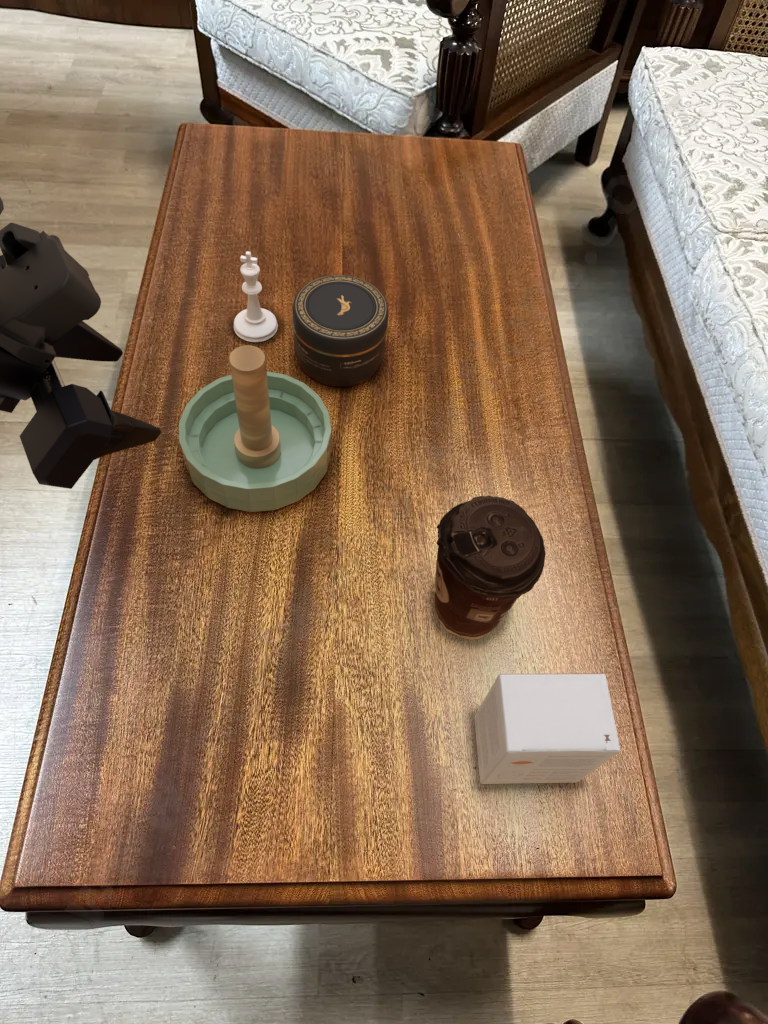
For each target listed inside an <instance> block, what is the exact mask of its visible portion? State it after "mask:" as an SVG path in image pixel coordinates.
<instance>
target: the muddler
mask: <svg viewBox="0 0 768 1024" xmlns="http://www.w3.org/2000/svg"><path fill="white" fill-rule="evenodd" d="M228 361H229V368H230V375H232V382H233V388H234V395H235V402H236V408H237V415H238V421H239V429H238V430H237V432H236V434H235V436H234V444H235V450H236V455H237V458H238V460H239V461H240V462H241V463H242V464H243V465H245V466H247V467H250V468H254V469H261V468H266V467H268V466H270V465H272V464H274V463H275V462H276V461H277V460H278V458H279V456H280V453H281V446H280V436H279V433H278V431H277V429H276V428H275V427H274V426H272V425H271V415H270V404H269V393H268V383H267V372H266V371H267V364H266V363H267V361H266V355H265V353H264V351H263V350H262V349H261V348H259V347H257V346H255V345H251V344H244V345H240V346H237V347H235V348H234V349H233V350H232V351H231V352H230V354H229V356H228Z"/></svg>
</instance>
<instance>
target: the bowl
mask: <svg viewBox="0 0 768 1024" xmlns="http://www.w3.org/2000/svg"><path fill="white" fill-rule="evenodd" d="M266 372H267V383H268V393H269V404H270V415H271V425H272V426H274V427H275V428H276V429H277V431H278V433H279V436H280V446H281V453H280V456H279V458H278V460H277V461H276V462H275V463H274V464H272V465H270V466H268V467H266V468H261V469H254V468H250V467H247V466H245V465H243V464H242V463H241V462H240V461H239V460H238V458H237V455H236V450H235V444H234V436H235V434H236V432H237V430H238V429H239V421H238V415H237V408H236V402H235V395H234V388H233V382H232V375H231V374H228V375H225V376H222V377H219V378H217V379H214V380H213V381H212V382H210V383H209V384H207V385H205V386H203V387H202V388H201V389H199V390H198V391H197V392H196V393H195V394H194V395H193V397H192V398H191V399H190V400H189V401H188V402H187V403H186V404H185V407H184V409H183V412H182V414H181V417H180V420H179V421H178V443H179V447H180V450H181V454H182V458H183V461H184V465H185V468H186V470H187V473H188V475H189V477H190V479H191V481H192V483H193V485H194V486H196V488H197V489H198V490H199V491H201V493H202V494H203V495H205V496H206V498H207V499H210V500H212V501H213V502H216V503H218V504H220V505H222V506H224V507H225V508H228V509H233V510H238V511H244V512H249V513H255V512H266V511H275V510H278V509H281V508H284V507H287V506H289V505H293V504H295V503H297V502H299V501H300V500H302V499H303V498H304V497H306V496H307V495H309V494H310V493H311V492H313V491H314V490H315V489H316V487H317V486H318V485H319V484H320V482H321V481H322V479H323V478H324V476H325V475H326V474H327V471H328V469H329V465H330V460H331V457H332V424H331V417H330V413H329V410H328V408H327V406H326V405H325V403H324V402H323V399H322V398H321V396H320V395H319V394H318V393H316V392H315V391H314V390H313V388H311V387H310V386H308V385H307V384H306V383H304V382H303V381H301V380H298V379H296V378H294V377H292V376H290V375H288V374H284V373H278V372H274V371H268V370H266Z"/></svg>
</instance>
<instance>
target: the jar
mask: <svg viewBox="0 0 768 1024" xmlns="http://www.w3.org/2000/svg"><path fill="white" fill-rule="evenodd" d="M291 321H292V323H291V324H292V329H293V346H294V353H295V356H296V359H297V361H298V363H299V366H300V368H301V369H302V370H303V371H304V373H305V374H306V375H307V376H308V377H310V378H311V379H313V380H315V381H316V382H318V383H320V384H323V385H325V386H329V387H336V388H345V387H352V386H355V385H358V384H359V385H360V384H361V383H363V382H366V381H367V380H368V379H370V378H371V377H372V376H373V375H374V374H375V373H376V372H377V370H378V369H379V366H380V365H381V363H382V361H383V358H384V354H385V348H386V339H387V338H386V337H387V333H388V330H389V306H388V303H387V299H386V298H385V296H384V295H383V293H382V292H381V291H380V289H379V288H377V287H376V286H375V285H374V284H372V283H370V282H368V281H367V280H364V279H362V278H360V277H356V276H352V275H344V274H331V275H325V276H321V277H318V278H314V279H313V280H311V281H309V282H307V283H306V284H304V285H303V286H302V287H301V288H300V289H299V290H298V291H297V293H296V295H295V297H294V299H293V303H292V318H291Z"/></svg>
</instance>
